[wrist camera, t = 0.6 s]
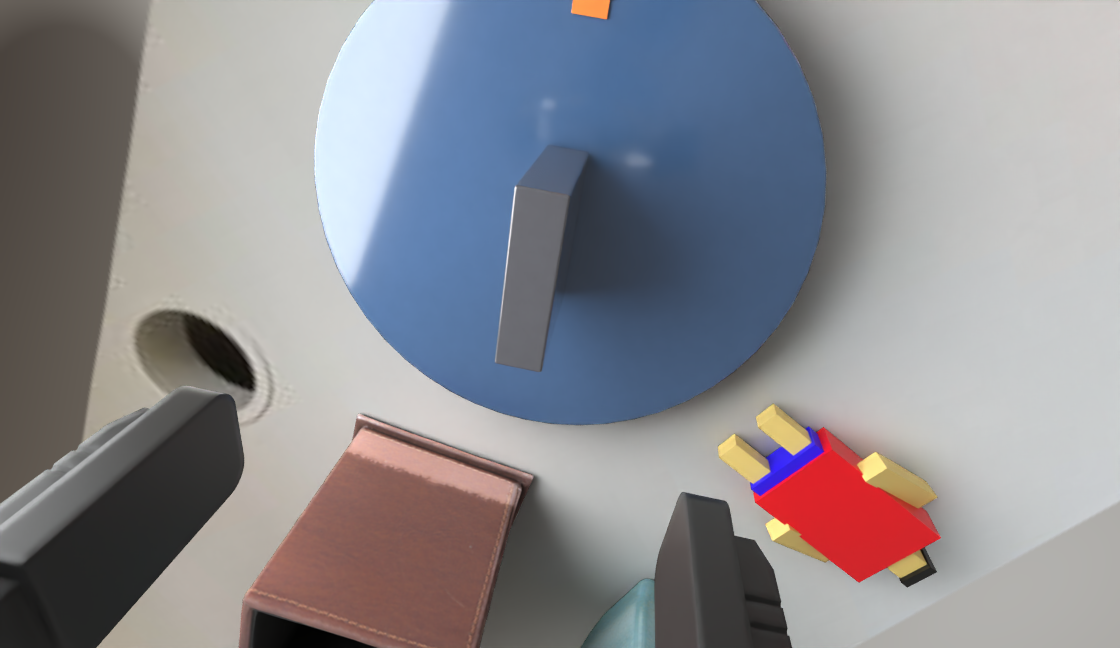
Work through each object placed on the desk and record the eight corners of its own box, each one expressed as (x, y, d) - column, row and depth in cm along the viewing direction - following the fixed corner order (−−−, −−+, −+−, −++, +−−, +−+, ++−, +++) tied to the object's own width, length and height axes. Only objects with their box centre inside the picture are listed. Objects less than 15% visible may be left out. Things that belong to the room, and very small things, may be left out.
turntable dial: (306, -130, 18) (145, -201, 12) (920, -26, 18) (1060, -49, 12) (334, 369, 28) (251, 462, 22) (729, 452, 27) (752, 572, 21)
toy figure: (698, 484, 28) (866, 613, 30) (806, 402, 25) (988, 551, 27) (696, 452, 30) (853, 574, 32) (796, 373, 27) (964, 513, 29)
